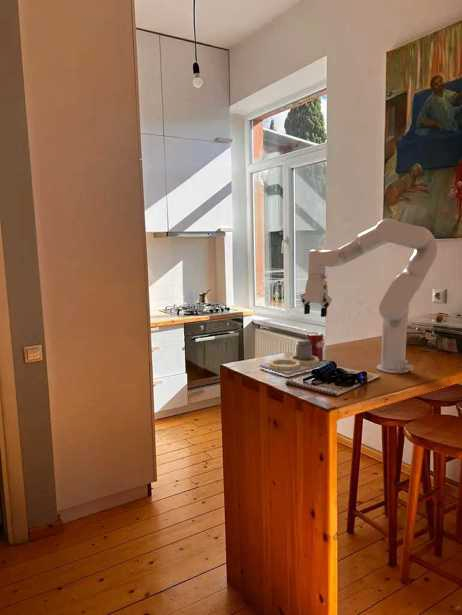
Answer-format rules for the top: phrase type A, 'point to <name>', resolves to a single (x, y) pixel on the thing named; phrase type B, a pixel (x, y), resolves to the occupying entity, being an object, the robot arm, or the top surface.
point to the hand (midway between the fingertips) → (315, 315)
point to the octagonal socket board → (292, 365)
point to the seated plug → (304, 351)
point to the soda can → (316, 344)
